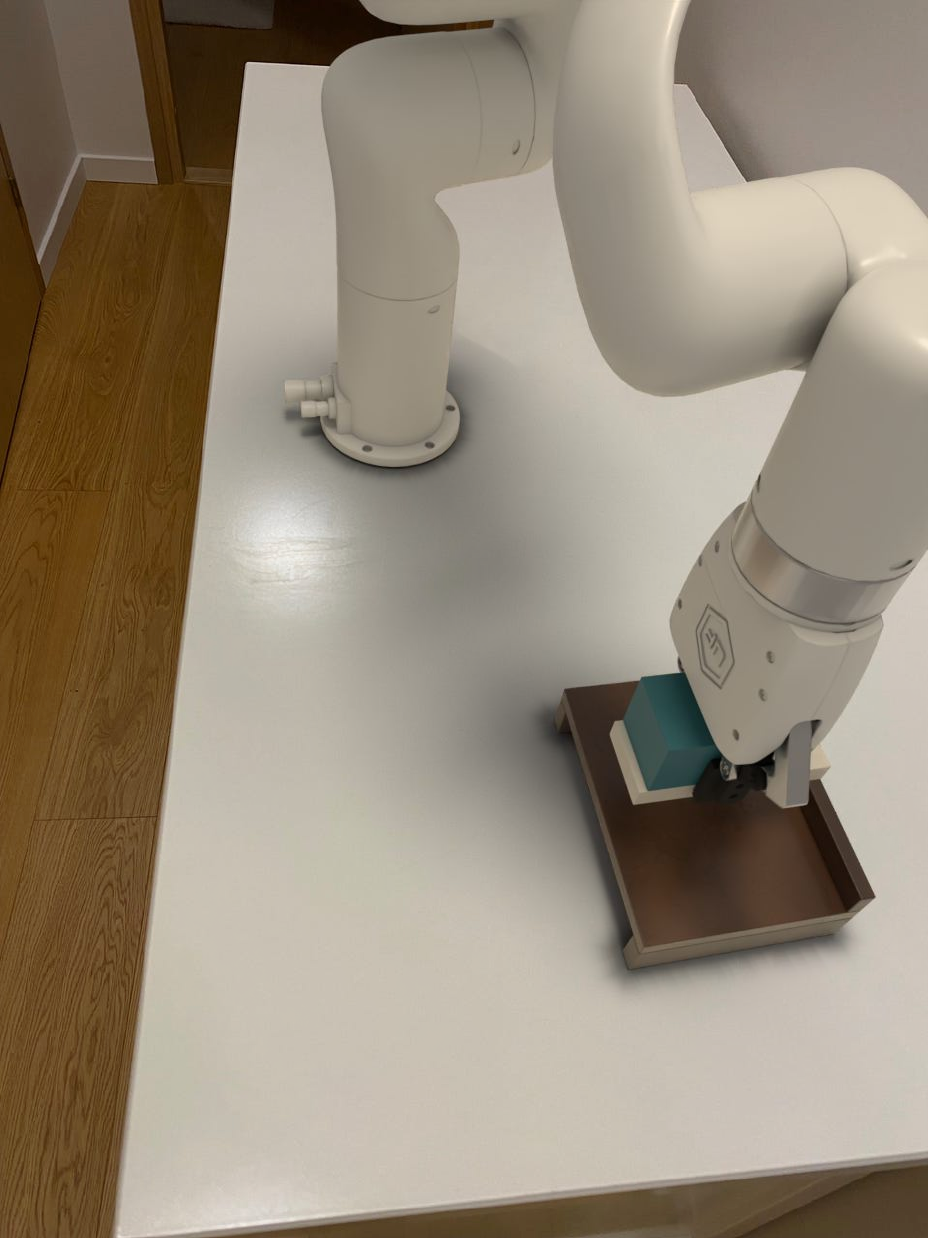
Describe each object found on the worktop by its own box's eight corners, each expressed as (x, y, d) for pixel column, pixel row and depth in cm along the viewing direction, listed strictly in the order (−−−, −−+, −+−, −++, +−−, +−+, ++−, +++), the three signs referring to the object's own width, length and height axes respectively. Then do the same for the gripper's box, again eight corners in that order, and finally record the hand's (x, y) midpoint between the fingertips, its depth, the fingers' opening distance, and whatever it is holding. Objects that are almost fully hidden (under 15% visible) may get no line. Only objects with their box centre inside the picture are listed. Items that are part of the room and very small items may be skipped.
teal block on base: (632, 805, 54) (659, 752, 50) (609, 734, 57) (632, 677, 53) (821, 779, 57) (864, 726, 52) (789, 712, 60) (827, 655, 55)
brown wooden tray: (627, 970, 57) (653, 935, 53) (553, 719, 68) (569, 671, 63) (835, 933, 60) (876, 897, 56) (732, 698, 71) (760, 651, 66)
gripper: (679, 424, 46) (600, 646, 61) (825, 716, 36) (689, 900, 50) (817, 416, 48) (709, 634, 62) (994, 695, 38) (817, 879, 52)
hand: (701, 752), depth 56 cm, fingers closed on teal block on base, 4 cm apart
